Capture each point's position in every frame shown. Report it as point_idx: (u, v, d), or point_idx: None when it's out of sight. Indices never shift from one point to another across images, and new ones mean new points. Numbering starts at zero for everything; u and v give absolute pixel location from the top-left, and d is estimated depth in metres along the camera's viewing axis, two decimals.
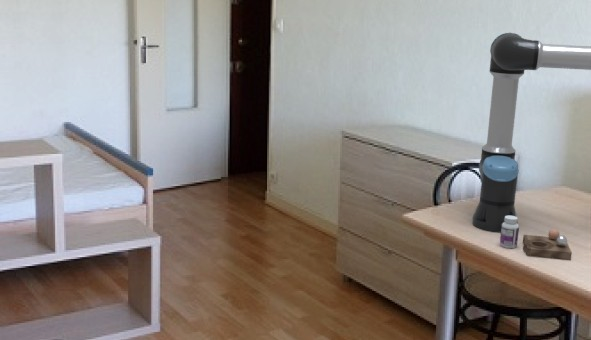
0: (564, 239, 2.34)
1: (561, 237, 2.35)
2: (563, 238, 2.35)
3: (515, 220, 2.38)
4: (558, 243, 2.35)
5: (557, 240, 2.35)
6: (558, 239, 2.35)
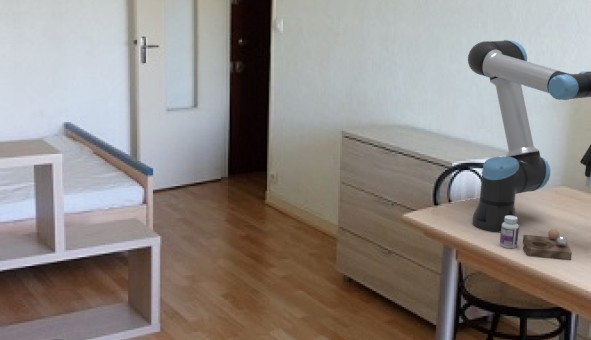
0: (564, 239, 2.34)
1: (561, 237, 2.35)
2: (563, 238, 2.35)
3: (515, 220, 2.38)
4: (558, 243, 2.35)
5: (557, 240, 2.35)
6: (558, 239, 2.35)
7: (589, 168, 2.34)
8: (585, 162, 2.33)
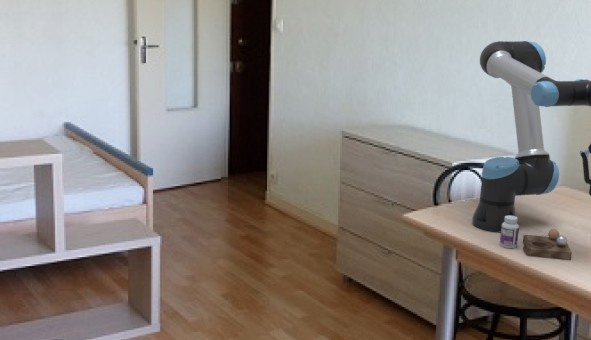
0: (564, 239, 2.34)
1: (561, 237, 2.35)
2: (563, 238, 2.35)
3: (515, 220, 2.38)
4: (558, 243, 2.35)
5: (557, 240, 2.35)
6: (558, 239, 2.35)
7: None
8: (586, 181, 2.29)
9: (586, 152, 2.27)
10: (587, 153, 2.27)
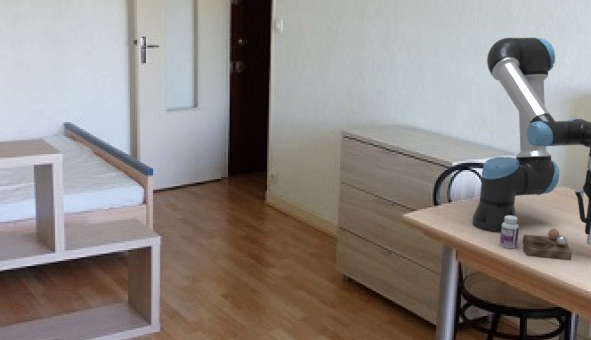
0: (564, 239, 2.34)
1: (561, 237, 2.35)
2: (563, 238, 2.35)
3: (515, 220, 2.38)
4: (558, 243, 2.35)
5: (557, 240, 2.35)
6: (558, 239, 2.35)
7: (588, 225, 2.32)
8: (582, 219, 2.32)
9: (581, 192, 2.31)
10: (582, 193, 2.31)
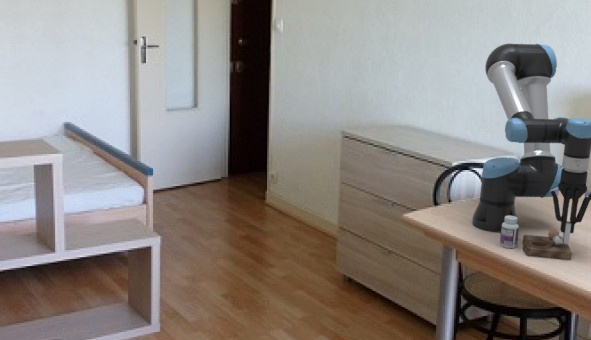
0: (558, 238, 2.35)
1: (554, 238, 2.35)
2: (557, 238, 2.35)
3: (515, 220, 2.38)
4: (556, 245, 2.35)
5: (553, 243, 2.36)
6: (553, 241, 2.35)
7: (563, 224, 2.34)
8: (557, 218, 2.33)
9: (556, 190, 2.32)
10: (557, 191, 2.32)
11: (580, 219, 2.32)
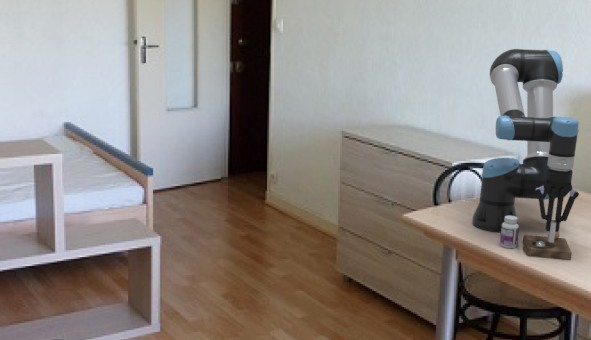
0: None
1: None
2: None
3: (515, 220, 2.38)
4: (543, 243, 2.37)
5: (545, 245, 2.37)
6: None
7: (548, 222, 2.35)
8: (542, 216, 2.34)
9: (541, 189, 2.33)
10: (542, 190, 2.33)
11: (565, 218, 2.33)
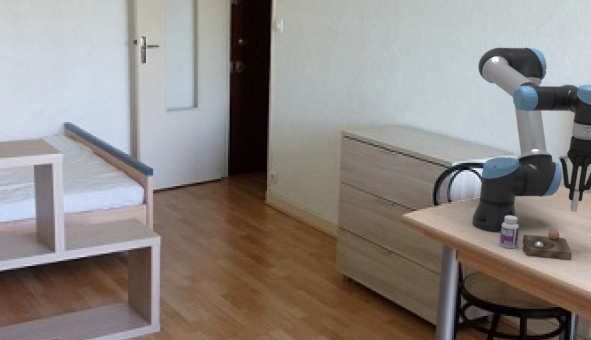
0: None
1: None
2: None
3: (515, 220, 2.38)
4: (540, 244, 2.36)
5: (543, 244, 2.37)
6: (543, 246, 2.36)
7: (572, 191, 2.33)
8: (566, 185, 2.32)
9: (565, 158, 2.31)
10: (566, 158, 2.31)
11: (589, 187, 2.31)
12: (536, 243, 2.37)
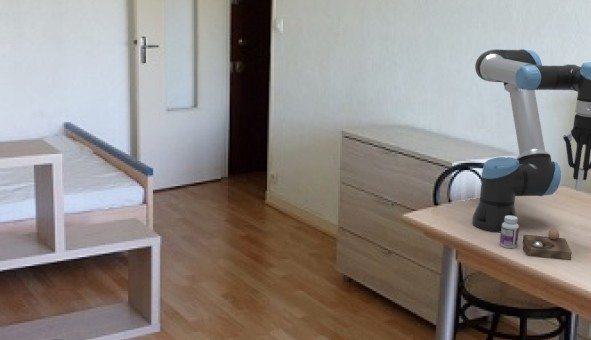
0: None
1: None
2: None
3: (515, 220, 2.38)
4: (538, 244, 2.36)
5: (541, 244, 2.36)
6: (541, 246, 2.36)
7: (576, 170, 2.32)
8: (570, 164, 2.31)
9: (569, 136, 2.30)
10: (570, 137, 2.30)
11: None
12: (534, 244, 2.37)
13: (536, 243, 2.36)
